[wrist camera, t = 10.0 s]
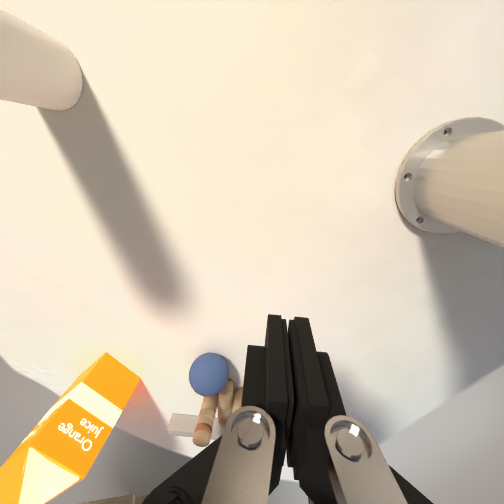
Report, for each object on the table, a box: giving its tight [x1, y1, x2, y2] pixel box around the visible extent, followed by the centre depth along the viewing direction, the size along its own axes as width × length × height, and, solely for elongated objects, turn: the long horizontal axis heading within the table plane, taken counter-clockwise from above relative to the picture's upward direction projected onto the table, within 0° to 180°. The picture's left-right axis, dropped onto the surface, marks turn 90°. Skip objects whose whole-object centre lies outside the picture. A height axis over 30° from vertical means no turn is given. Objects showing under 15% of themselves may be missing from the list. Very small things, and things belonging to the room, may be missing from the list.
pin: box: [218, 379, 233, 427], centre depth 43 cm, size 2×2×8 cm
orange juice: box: [0, 353, 141, 504], centre depth 35 cm, size 8×9×20 cm
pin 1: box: [193, 393, 219, 447], centre depth 40 cm, size 2×2×8 cm
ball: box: [189, 353, 229, 397], centre depth 39 cm, size 6×6×6 cm
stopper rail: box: [167, 413, 225, 440], centre depth 45 cm, size 20×1×3 cm, turn 86°
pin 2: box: [232, 387, 243, 413], centre depth 40 cm, size 2×2×8 cm
